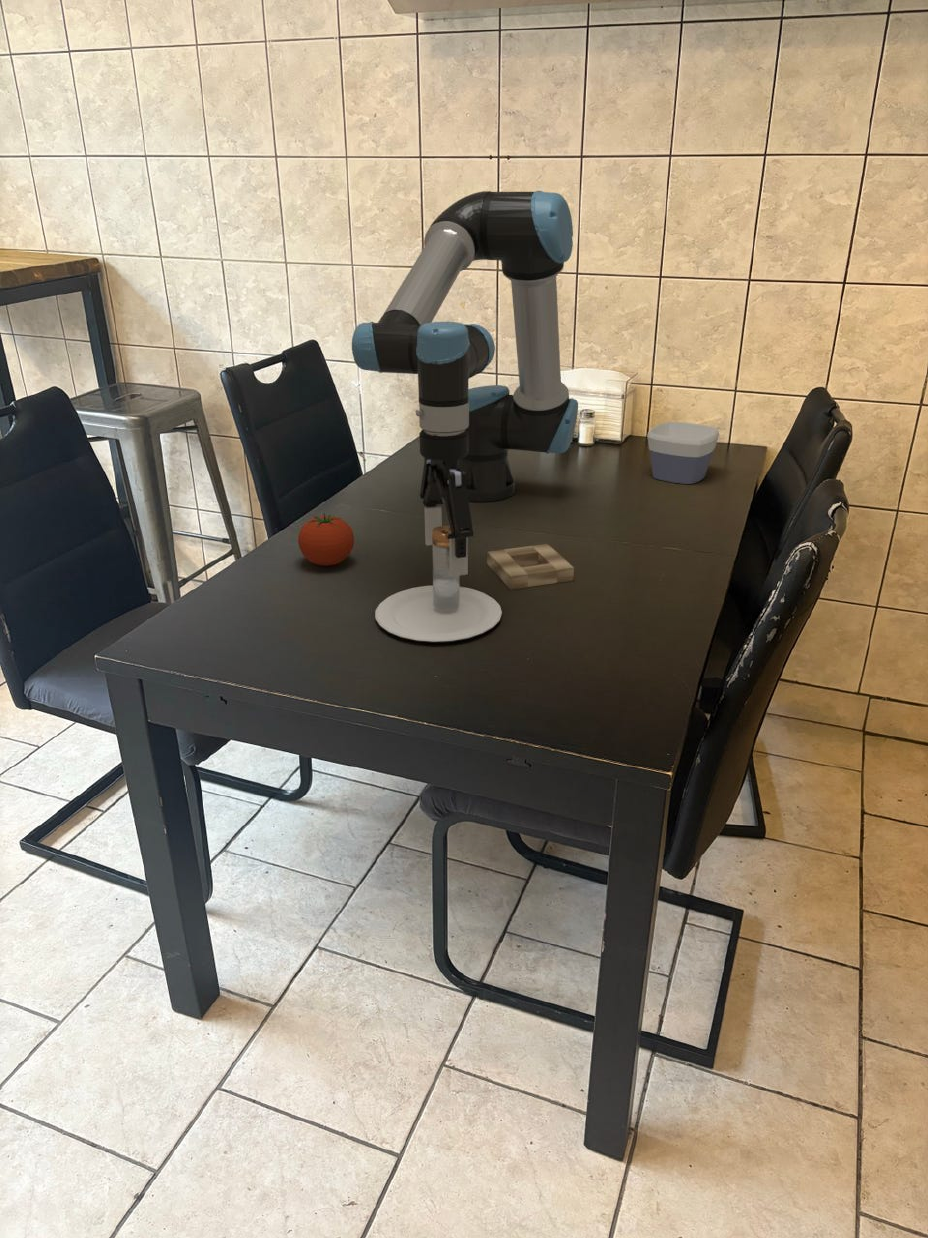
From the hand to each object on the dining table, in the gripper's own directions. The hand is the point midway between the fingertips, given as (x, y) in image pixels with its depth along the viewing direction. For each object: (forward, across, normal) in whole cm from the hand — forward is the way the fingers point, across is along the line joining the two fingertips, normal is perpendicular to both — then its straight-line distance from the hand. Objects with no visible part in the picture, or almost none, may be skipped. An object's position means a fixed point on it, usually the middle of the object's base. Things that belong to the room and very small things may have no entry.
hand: (445, 558), depth 148 cm
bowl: (+10, -51, +74) cm, 90 cm away
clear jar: (+8, 0, 0) cm, 8 cm away
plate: (+10, +2, -2) cm, 10 cm away
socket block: (+9, -10, +19) cm, 23 cm away
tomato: (+9, -26, -15) cm, 31 cm away
